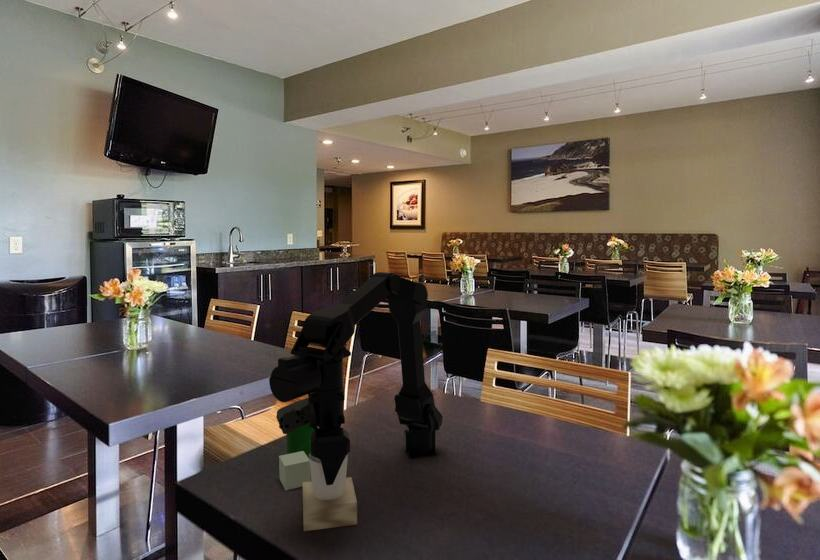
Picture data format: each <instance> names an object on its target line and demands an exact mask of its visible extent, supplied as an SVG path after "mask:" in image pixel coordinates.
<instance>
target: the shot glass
mask: <svg viewBox="0 0 820 560" xmlns="http://www.w3.org/2000/svg"><path fill="white" fill-rule="evenodd" d="M348 457H349V453H348V454H347V455H346V457H345V459H344V461H343V463H342V465H341V467H340V469H339V472H338V474H337V476H336V479H335V481H334V483H333V485H326V481H325V477H324V473H323V468H322V464H321V461H320V460H319V459H318V458H315V457H313V456H312V455H311V453H310V454H309V462H310V476H311V481H312V488H313V495H314V496H315V497H316V498H318V499H321V500H332V499H336V498H339V497H340V496H342V495H343V494H344V492H345V484H346V478H347V470H348Z"/></svg>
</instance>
